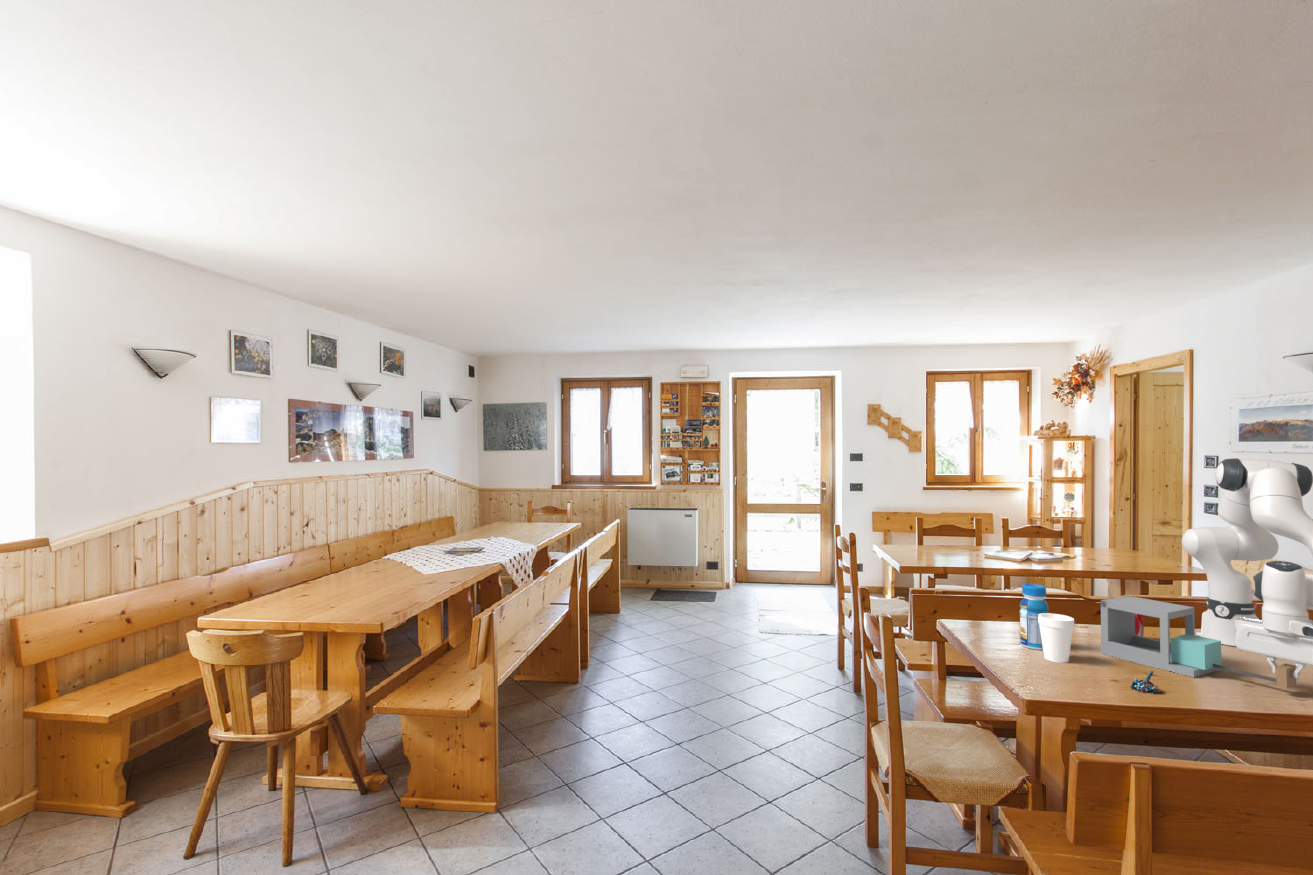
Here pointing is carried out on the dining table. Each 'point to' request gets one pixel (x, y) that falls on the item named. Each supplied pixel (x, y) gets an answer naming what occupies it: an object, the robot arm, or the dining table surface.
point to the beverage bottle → (1032, 615)
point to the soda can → (1139, 625)
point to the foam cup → (1056, 636)
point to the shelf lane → (1142, 650)
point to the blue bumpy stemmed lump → (1145, 685)
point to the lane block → (1218, 658)
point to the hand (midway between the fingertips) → (1286, 675)
